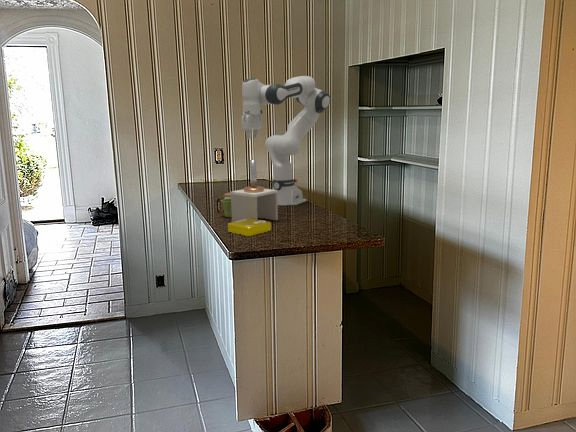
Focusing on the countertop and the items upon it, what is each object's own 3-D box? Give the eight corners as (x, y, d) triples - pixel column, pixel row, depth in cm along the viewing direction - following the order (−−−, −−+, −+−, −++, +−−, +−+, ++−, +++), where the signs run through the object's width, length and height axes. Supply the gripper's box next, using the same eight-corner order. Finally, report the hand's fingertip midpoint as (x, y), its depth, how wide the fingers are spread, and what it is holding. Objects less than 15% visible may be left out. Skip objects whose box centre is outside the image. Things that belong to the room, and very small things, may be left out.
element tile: (249, 226, 247) (249, 216, 246) (273, 231, 237) (272, 220, 236) (226, 232, 236) (225, 222, 235) (249, 237, 226) (249, 227, 225)
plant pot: (222, 218, 263) (222, 202, 261) (220, 215, 272) (219, 198, 270) (241, 217, 266) (240, 200, 264) (237, 214, 274) (237, 197, 273)
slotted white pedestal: (254, 216, 268) (253, 187, 265) (277, 219, 258) (277, 190, 255) (231, 221, 256) (230, 191, 253) (256, 226, 246) (255, 194, 243)
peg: (259, 210, 263) (257, 158, 257) (268, 213, 254) (266, 160, 249) (241, 212, 258) (239, 159, 252) (249, 215, 249) (247, 161, 244)
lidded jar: (240, 209, 287) (240, 192, 285) (222, 208, 289) (221, 192, 287) (246, 205, 297) (245, 189, 295) (228, 205, 299) (227, 189, 297)
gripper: (249, 111, 254) (250, 139, 257) (263, 110, 273) (264, 137, 276) (237, 111, 256) (238, 139, 259) (252, 111, 275) (253, 137, 278)
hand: (252, 138), depth 267 cm, fingers open, 8 cm apart
